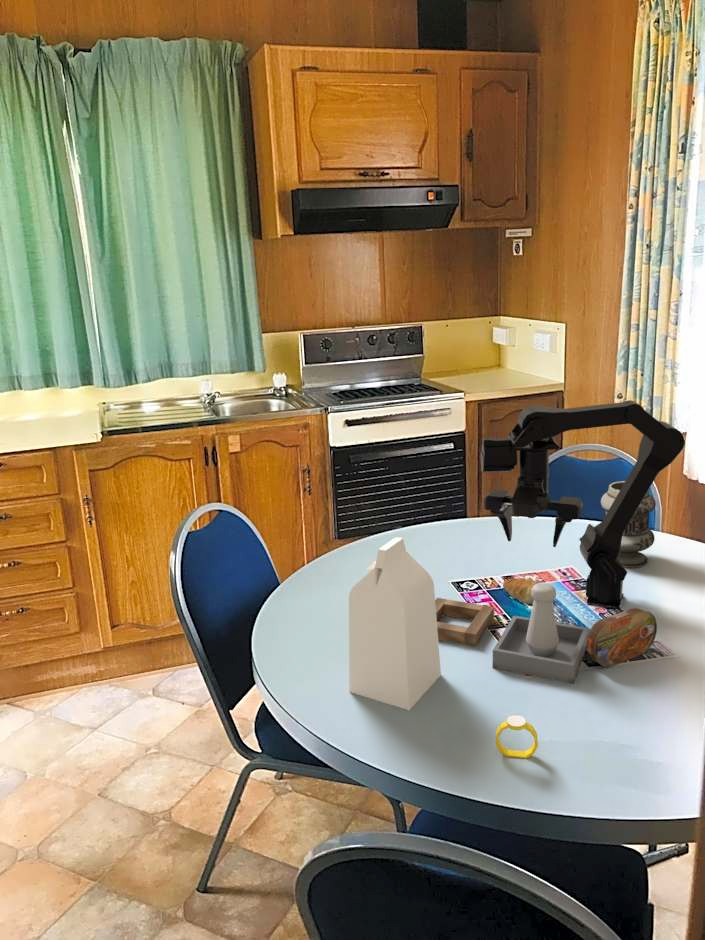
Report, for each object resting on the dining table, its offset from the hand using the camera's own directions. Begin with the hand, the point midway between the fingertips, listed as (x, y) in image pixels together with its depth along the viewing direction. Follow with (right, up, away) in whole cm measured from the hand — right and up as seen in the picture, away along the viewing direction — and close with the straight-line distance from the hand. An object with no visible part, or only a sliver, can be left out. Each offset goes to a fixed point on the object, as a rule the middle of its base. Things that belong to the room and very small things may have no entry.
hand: (531, 543), depth 156 cm
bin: (-2, -19, -17) cm, 26 cm away
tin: (+12, -19, -19) cm, 29 cm away
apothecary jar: (+27, -6, +22) cm, 35 cm away
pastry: (0, -12, +7) cm, 14 cm away
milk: (-29, -22, -23) cm, 43 cm away
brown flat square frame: (-16, -16, -5) cm, 23 cm away
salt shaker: (-2, -18, -17) cm, 25 cm away
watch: (-12, -27, -43) cm, 53 cm away
